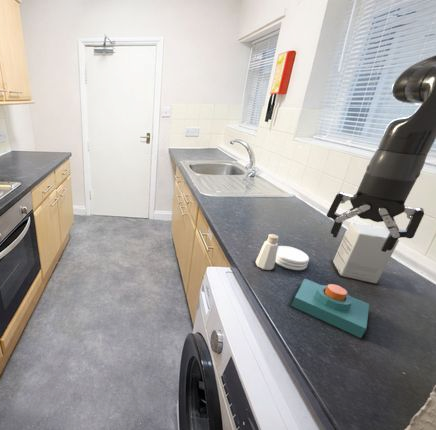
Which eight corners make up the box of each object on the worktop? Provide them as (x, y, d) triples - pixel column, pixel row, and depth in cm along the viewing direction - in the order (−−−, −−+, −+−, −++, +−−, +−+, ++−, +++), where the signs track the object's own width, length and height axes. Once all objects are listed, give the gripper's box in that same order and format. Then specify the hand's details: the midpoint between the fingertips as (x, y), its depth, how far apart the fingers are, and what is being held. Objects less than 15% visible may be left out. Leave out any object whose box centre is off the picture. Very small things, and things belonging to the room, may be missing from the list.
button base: (364, 312, 67) (373, 297, 65) (360, 338, 60) (370, 322, 58) (301, 286, 76) (306, 272, 74) (291, 306, 69) (297, 291, 67)
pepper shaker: (274, 264, 86) (284, 234, 82) (272, 272, 82) (283, 242, 77) (256, 258, 89) (265, 229, 84) (253, 266, 85) (262, 236, 80)
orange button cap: (345, 295, 66) (348, 289, 65) (343, 303, 64) (346, 297, 63) (325, 288, 69) (328, 281, 68) (323, 295, 66) (326, 289, 65)
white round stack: (298, 275, 81) (302, 265, 80) (265, 259, 88) (268, 250, 87) (311, 264, 87) (315, 255, 85) (279, 250, 94) (282, 242, 92)
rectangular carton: (365, 268, 85) (386, 227, 79) (377, 284, 78) (401, 240, 72) (331, 261, 89) (349, 221, 83) (339, 275, 81) (359, 233, 75)
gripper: (441, 178, 51) (401, 249, 58) (348, 164, 60) (323, 227, 67) (445, 186, 46) (401, 262, 53) (343, 169, 55) (316, 236, 62)
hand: (357, 242), depth 60 cm, fingers open, 8 cm apart
